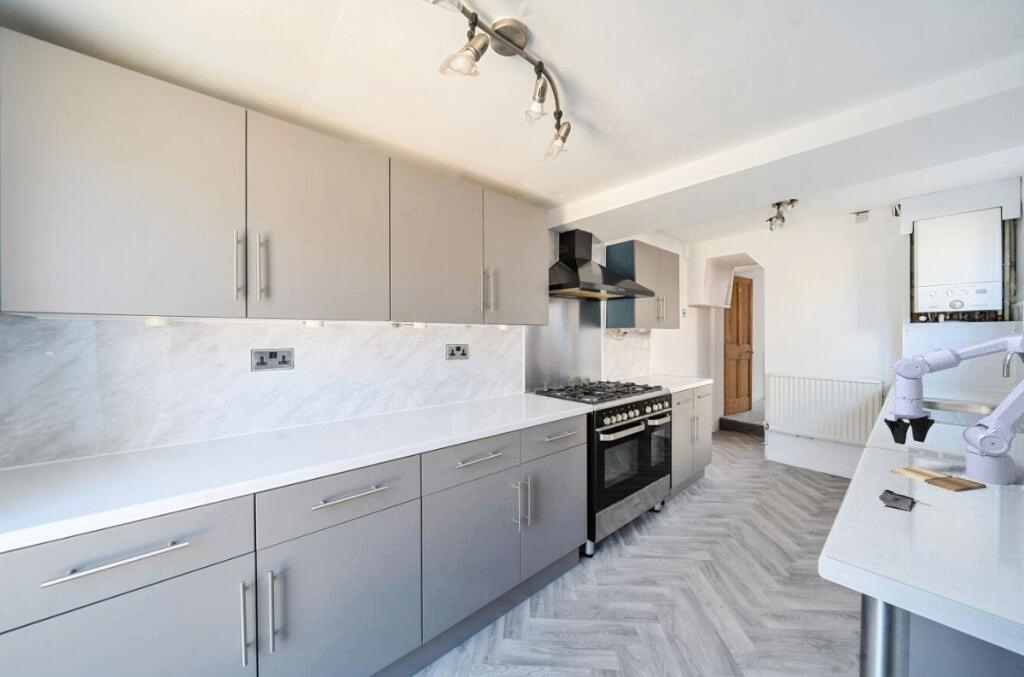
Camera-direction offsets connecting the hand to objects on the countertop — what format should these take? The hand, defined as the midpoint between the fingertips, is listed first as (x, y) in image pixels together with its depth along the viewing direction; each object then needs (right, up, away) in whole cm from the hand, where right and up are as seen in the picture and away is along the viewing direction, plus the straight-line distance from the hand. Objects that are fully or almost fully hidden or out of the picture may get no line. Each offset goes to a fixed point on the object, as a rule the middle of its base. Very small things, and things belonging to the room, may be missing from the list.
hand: (909, 442), depth 113 cm
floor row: (-1, -10, -7) cm, 12 cm away
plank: (-1, -9, -4) cm, 10 cm away
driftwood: (-18, -11, -15) cm, 26 cm away
